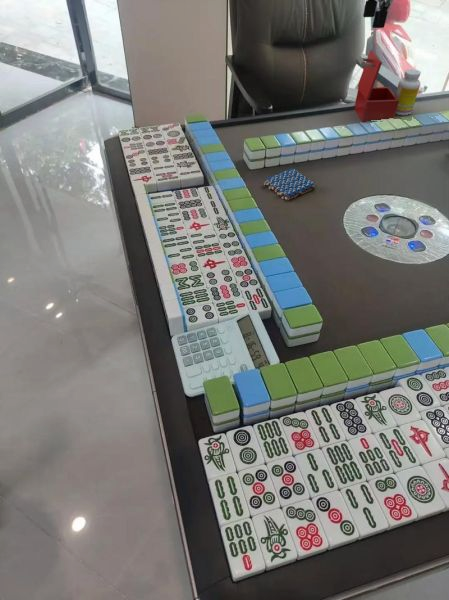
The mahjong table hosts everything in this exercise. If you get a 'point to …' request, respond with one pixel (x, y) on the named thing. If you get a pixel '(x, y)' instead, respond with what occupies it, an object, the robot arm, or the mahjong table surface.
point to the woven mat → (289, 184)
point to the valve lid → (368, 73)
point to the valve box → (376, 104)
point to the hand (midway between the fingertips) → (373, 22)
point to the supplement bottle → (407, 91)
